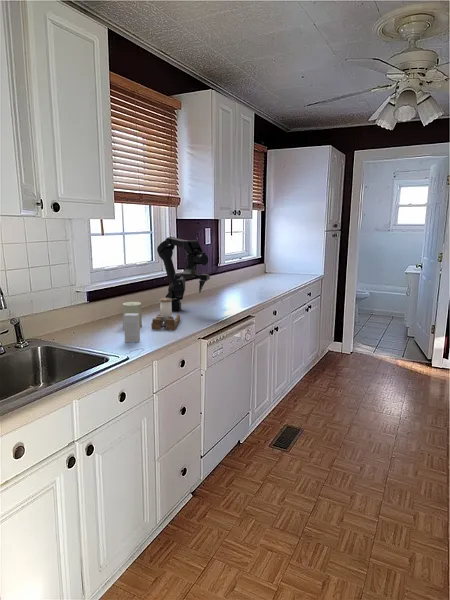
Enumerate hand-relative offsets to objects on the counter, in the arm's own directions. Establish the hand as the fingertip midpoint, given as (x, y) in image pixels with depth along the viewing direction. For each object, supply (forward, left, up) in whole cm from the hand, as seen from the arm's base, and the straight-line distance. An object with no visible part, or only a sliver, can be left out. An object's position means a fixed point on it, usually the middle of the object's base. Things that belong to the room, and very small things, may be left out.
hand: (192, 292), depth 228 cm
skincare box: (-7, -54, -13) cm, 56 cm away
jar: (-5, -23, -13) cm, 27 cm away
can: (-19, -32, -13) cm, 39 cm away
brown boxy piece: (-5, -23, -13) cm, 27 cm away
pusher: (-3, -29, -13) cm, 32 cm away
